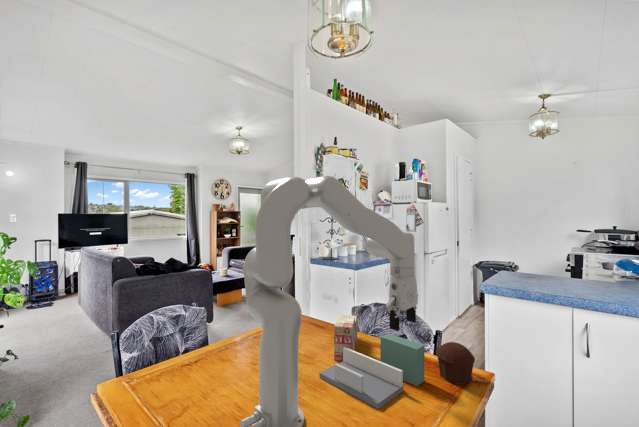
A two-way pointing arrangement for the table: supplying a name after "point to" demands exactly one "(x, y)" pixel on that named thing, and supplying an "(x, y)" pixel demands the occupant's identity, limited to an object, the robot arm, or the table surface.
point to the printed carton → (344, 335)
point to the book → (404, 357)
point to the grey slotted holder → (365, 378)
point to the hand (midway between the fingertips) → (403, 325)
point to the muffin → (455, 363)
